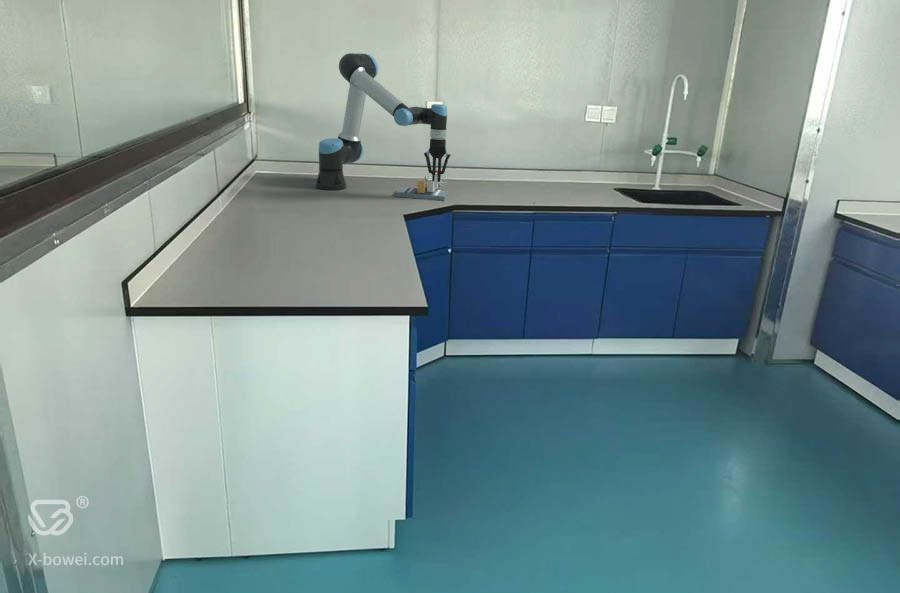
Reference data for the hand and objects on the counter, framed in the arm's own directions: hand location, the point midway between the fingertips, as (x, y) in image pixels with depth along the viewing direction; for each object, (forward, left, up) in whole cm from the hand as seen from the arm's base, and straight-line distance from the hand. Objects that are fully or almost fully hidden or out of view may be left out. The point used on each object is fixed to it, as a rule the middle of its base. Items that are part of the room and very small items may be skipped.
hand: (435, 188), depth 306 cm
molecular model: (-3, +23, -6) cm, 24 cm away
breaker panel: (-7, +4, -5) cm, 10 cm away
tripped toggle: (-7, 0, -3) cm, 8 cm away
